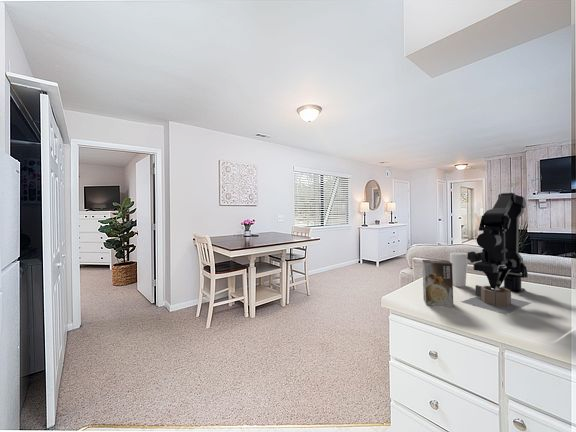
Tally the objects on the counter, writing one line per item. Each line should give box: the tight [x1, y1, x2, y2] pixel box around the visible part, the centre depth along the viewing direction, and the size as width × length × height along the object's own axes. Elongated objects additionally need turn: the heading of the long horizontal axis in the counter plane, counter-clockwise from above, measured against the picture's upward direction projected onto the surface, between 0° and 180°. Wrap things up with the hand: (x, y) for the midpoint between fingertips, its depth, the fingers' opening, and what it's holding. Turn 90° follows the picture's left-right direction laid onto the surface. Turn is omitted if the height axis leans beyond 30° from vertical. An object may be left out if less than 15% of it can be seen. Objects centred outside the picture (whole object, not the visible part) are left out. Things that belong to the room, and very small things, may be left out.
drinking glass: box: [449, 251, 468, 288], centre depth 119 cm, size 7×7×15 cm
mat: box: [460, 295, 531, 315], centre depth 97 cm, size 20×14×1 cm
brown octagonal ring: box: [475, 284, 512, 307], centre depth 98 cm, size 8×11×5 cm
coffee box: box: [422, 259, 454, 308], centre depth 98 cm, size 9×6×16 cm
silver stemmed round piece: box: [491, 280, 502, 292], centre depth 97 cm, size 5×5×8 cm
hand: (495, 287), depth 97 cm, fingers closed on silver stemmed round piece, 3 cm apart
